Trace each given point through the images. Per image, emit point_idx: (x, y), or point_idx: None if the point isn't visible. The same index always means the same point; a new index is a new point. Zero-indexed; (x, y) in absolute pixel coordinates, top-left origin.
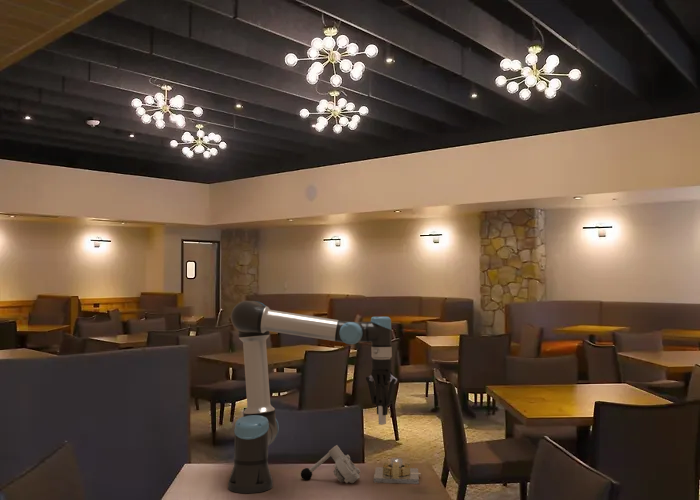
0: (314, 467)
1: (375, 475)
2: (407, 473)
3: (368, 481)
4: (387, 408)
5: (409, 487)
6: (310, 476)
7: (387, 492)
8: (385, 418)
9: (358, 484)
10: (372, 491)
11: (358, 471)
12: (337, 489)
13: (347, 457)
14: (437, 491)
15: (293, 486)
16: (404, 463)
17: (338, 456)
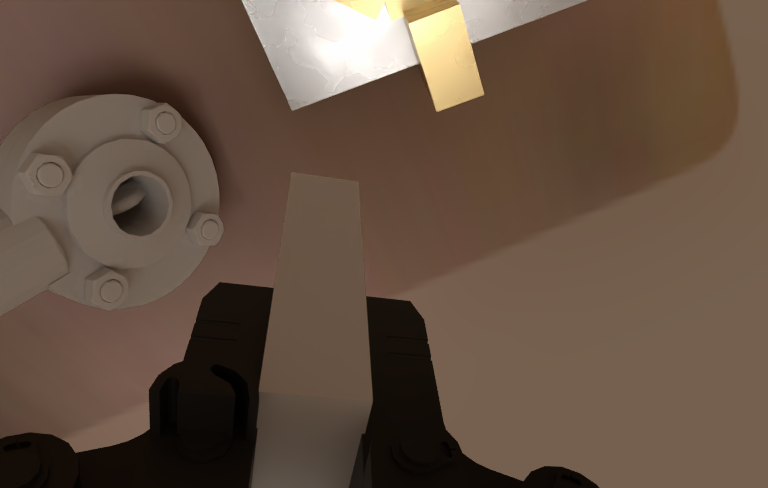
0: None
1: (269, 38)
2: None
3: (250, 91)
4: (437, 396)
5: (539, 101)
6: None
7: (448, 240)
8: (358, 236)
9: (232, 179)
10: (369, 258)
11: (175, 137)
12: (189, 304)
13: (56, 194)
14: (713, 105)
15: None
16: None
17: (41, 292)
